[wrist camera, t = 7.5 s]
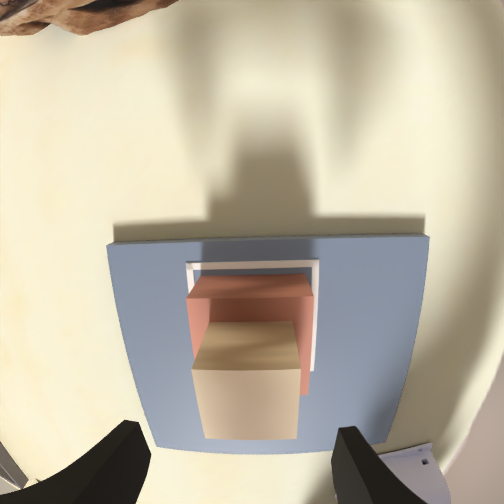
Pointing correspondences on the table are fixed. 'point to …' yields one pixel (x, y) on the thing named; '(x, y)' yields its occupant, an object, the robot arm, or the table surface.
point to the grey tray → (11, 469)
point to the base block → (255, 307)
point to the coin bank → (71, 14)
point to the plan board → (323, 335)
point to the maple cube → (248, 381)
